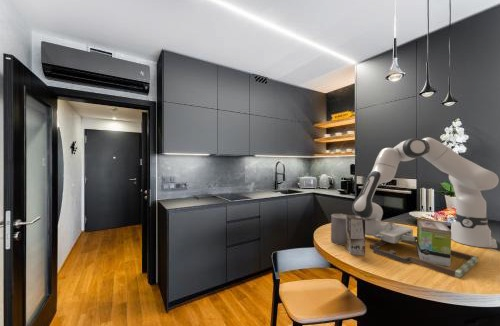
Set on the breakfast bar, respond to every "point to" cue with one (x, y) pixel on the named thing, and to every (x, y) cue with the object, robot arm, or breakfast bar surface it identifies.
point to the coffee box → (355, 234)
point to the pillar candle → (338, 229)
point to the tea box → (434, 242)
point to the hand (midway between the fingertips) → (415, 239)
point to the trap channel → (455, 273)
